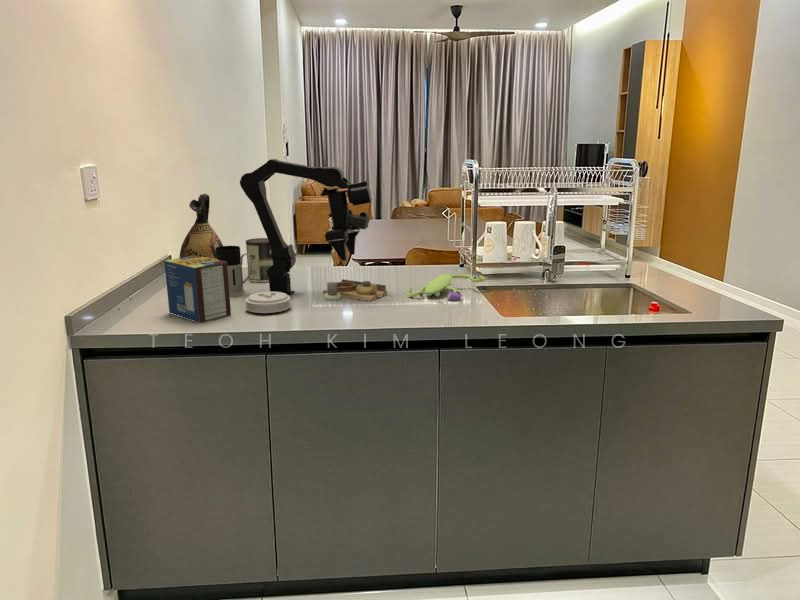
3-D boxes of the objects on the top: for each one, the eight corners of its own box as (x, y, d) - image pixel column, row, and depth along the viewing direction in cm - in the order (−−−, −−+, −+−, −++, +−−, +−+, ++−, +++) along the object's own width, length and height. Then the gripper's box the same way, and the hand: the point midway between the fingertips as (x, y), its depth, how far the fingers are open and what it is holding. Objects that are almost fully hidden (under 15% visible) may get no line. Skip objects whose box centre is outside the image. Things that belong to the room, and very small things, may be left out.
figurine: (491, 289, 203) (492, 273, 201) (450, 306, 182) (450, 288, 180) (444, 282, 213) (444, 266, 212) (400, 297, 192) (400, 280, 191)
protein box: (200, 306, 181) (196, 254, 177) (231, 315, 171) (228, 261, 167) (168, 313, 173) (163, 260, 169) (199, 323, 163) (194, 267, 159)
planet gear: (334, 301, 186) (333, 285, 185) (320, 299, 189) (320, 283, 187) (344, 298, 190) (343, 282, 189) (331, 295, 193) (330, 280, 192)
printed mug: (280, 276, 221) (278, 237, 217) (274, 282, 211) (271, 242, 207) (252, 276, 221) (249, 237, 218) (244, 282, 211) (241, 242, 208)
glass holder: (231, 289, 201) (228, 244, 198) (263, 294, 194) (260, 248, 191) (211, 294, 194) (207, 248, 190) (243, 300, 187) (240, 252, 183)
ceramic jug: (219, 285, 207) (213, 196, 200) (174, 284, 208) (166, 196, 200) (234, 274, 224) (228, 192, 216) (192, 274, 224) (185, 192, 216)
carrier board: (369, 301, 186) (369, 286, 185) (323, 294, 195) (322, 280, 194) (387, 294, 194) (387, 280, 193) (341, 287, 203) (341, 274, 202)
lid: (243, 307, 181) (242, 290, 179) (286, 303, 185) (285, 287, 184) (249, 318, 169) (248, 300, 168) (294, 313, 174) (293, 296, 172)
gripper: (355, 208, 177) (365, 260, 180) (371, 200, 194) (380, 248, 198) (319, 213, 179) (330, 265, 183) (338, 206, 197) (348, 252, 201)
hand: (348, 257), depth 191 cm, fingers open, 9 cm apart
